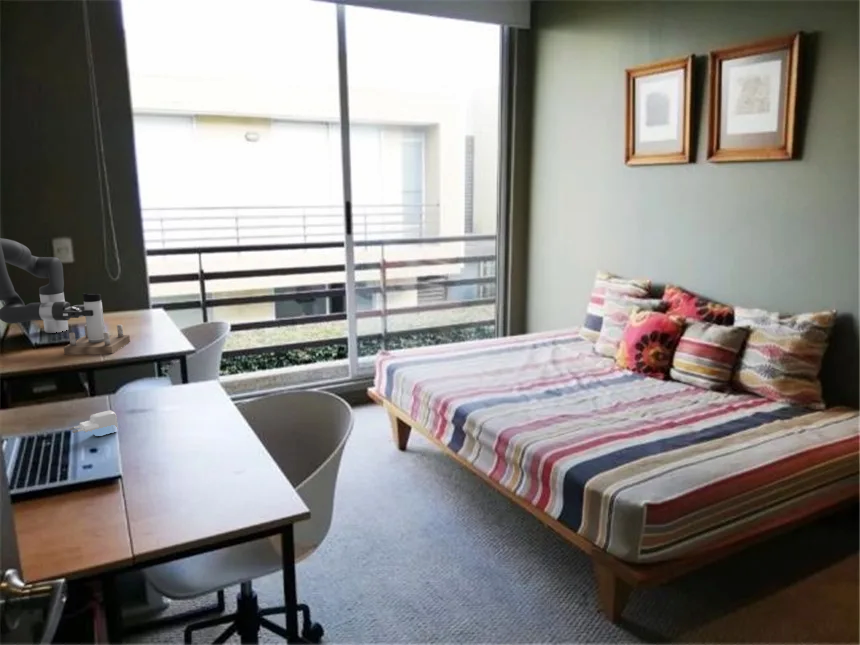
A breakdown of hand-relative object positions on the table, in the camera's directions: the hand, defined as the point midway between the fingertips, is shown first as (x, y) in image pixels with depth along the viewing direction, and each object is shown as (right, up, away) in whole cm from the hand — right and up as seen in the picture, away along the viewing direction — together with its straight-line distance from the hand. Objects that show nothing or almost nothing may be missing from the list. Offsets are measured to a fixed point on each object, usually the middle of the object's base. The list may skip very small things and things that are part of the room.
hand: (97, 310), depth 249 cm
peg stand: (-1, -15, +3) cm, 16 cm away
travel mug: (-2, -12, +2) cm, 13 cm away
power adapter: (+43, -36, -82) cm, 99 cm away
